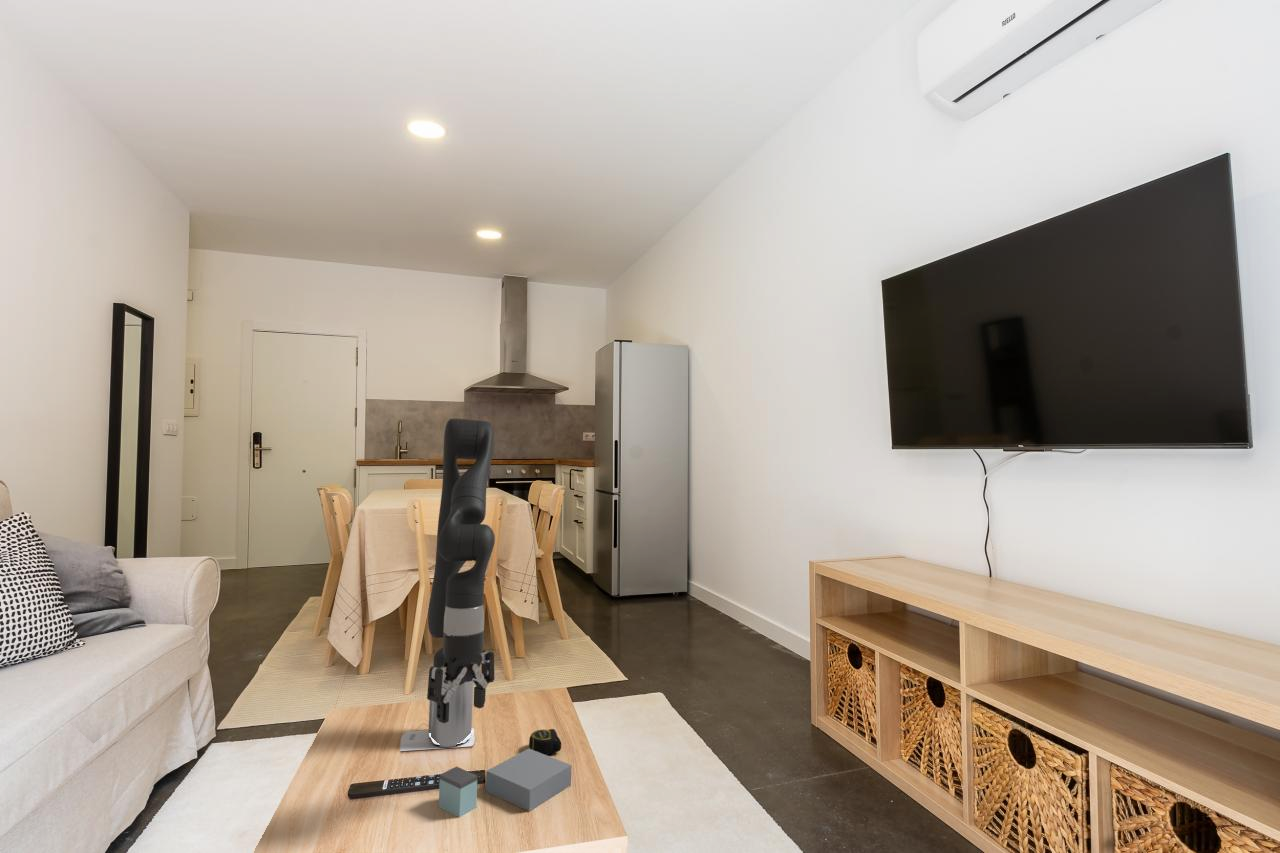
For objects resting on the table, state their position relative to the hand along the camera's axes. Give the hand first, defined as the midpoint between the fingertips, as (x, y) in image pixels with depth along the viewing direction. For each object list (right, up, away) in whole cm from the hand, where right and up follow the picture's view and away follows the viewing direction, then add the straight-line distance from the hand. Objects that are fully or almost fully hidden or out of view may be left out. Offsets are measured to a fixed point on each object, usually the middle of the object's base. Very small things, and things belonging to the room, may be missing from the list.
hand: (461, 714), depth 121 cm
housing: (-1, -17, -1) cm, 17 cm away
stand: (+12, -18, +7) cm, 22 cm away
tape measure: (+13, -19, +23) cm, 33 cm away
